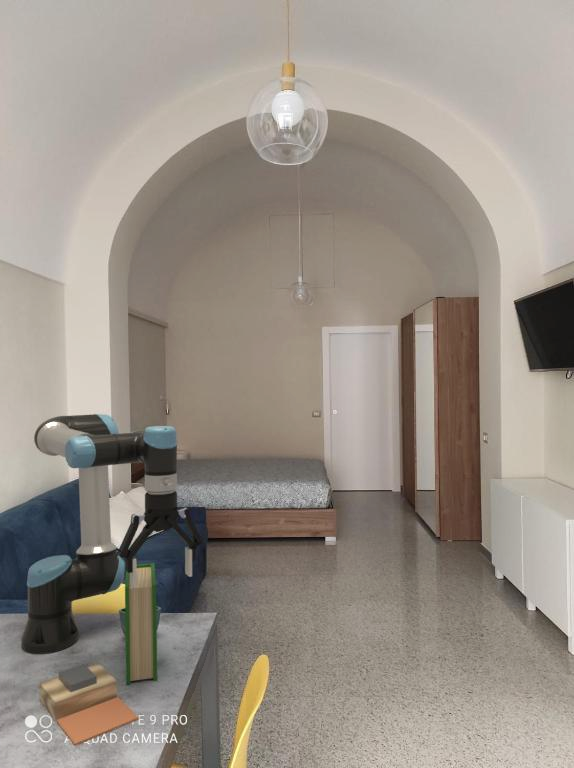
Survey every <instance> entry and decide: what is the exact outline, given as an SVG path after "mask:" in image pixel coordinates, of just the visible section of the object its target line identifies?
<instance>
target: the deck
mask: <svg viewBox="0 0 574 768" xmlns="http://www.w3.org/2000/svg"><path fill="white" fill-rule="evenodd" d="M86 667H87V668H88V669H89V670H90V671H91V672H93V673H94V674H95V675H96V676H97V683H96V684H93V685H90V686H88V687H85V688H82V689H79V690H76V691H74V692H70V691H69V690H68V689H67V688H66V687H65V686H64V684H63V683H62V682H61V681H60V680H59V676H57V677H54V678H51V679H48V680H45V681H42V682H39V701H40V702H41V704H42V705H43V706H44V708H45V709H46V710H47V711H48V713H49V714H50V715H51V717H52V718H53V719H54V721H56V722H57V720H58V719H61V718H63V717H66V716H69V715H71V714H74V713H77V712H79V711H82V710H85V709H87V708H90V707H92V706H95V705H98V704H100V703H103V702H106V701H108V700H111V699H114V698H116V697H118V693H117V692H118V690H117V689H118V687H117V686H118V684H117V680H116V678H115V677H113V676H112V675H111V674H110V673H109V672H108V671H107V670H106V669H105V668H104V667H102V665H100V664H99V663H96V664H93V665H90V666H86Z"/></svg>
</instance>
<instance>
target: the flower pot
mask: <svg viewBox="0 0 574 768" xmlns="http://www.w3.org/2000/svg"><path fill="white" fill-rule="evenodd" d="M161 610H162V607H160V606H157V605H156V622H157V630H158V629H159V625H160V621H161V620H160V619H161ZM118 616H119V623H120V628H121V631H122V633H123V635H124V636H125V638H126V630H125V607H122V608H120V609H119V610H118Z"/></svg>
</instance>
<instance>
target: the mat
mask: <svg viewBox="0 0 574 768" xmlns="http://www.w3.org/2000/svg"><path fill="white" fill-rule="evenodd" d="M139 719H140V718H139V716H138V715H137V714H136V713H135V712H134V711H133V710H132V709H131V708H130V707H129V706H128V705H127V704H126V703H125V702H124V701H122V700H121V698H120V697H119V696H117V697H116V698H114V699H111V700H108V701H106V702H103V703H100V704H98V705H95V706H92V707H90V708H87V709H85V710H82V711H79V712H77V713H74V714H71V715H69V716H66V717H63V718H61V719H58V720H57V721H56V723H57V724H58V726H59V727H60V729H61V730H62V731H63V732H64V734H65V735H66V736H67V738H68V739H69V740H70V741H71V743H72V744H73V746H78V745H80V744H82V743H85V742H88V741H90V740H92V739H94V738H97V737H99V736H102V735H104V734H107V733H108V731H109V732H111V731H114V730H115V728H116V729H118V727H119V728H121V727H124V726H126V725H128V724H131V723H133V722H135V721H137V720H139ZM123 725H124V726H123ZM113 729H114V730H113ZM106 732H107V733H106Z"/></svg>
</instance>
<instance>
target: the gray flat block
mask: <svg viewBox="0 0 574 768" xmlns="http://www.w3.org/2000/svg"><path fill="white" fill-rule="evenodd" d="M87 667H88V666H86V665H85V663H82V664H79V665H76V666H74V667H70V668H67V669H64V670H61V671H58V677H59V680H60V681H61V682H62V683H63V684H64V686H65V687H66V688H67V689H68V690H69V691H70V692H74V691H76V690H79V689H82V688H85V687H88V686H90V685H93V684H96V683H97V676H96V675H95V674H94V673H93V672H91V671H90V670H89V669H88V668H87Z"/></svg>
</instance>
